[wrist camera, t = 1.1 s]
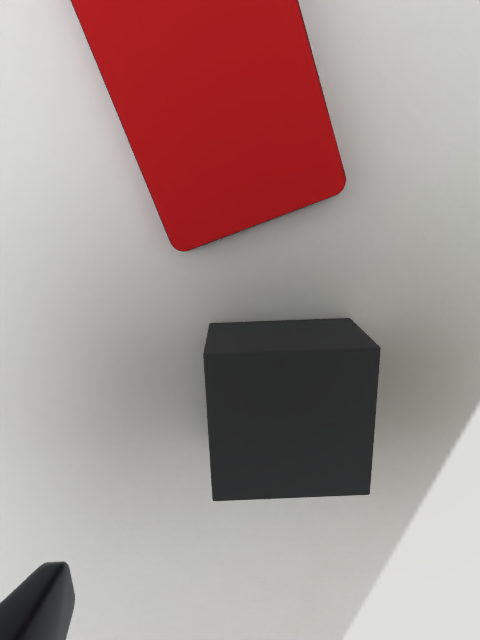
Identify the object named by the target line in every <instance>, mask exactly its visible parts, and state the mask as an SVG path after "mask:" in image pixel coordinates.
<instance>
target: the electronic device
mask: <svg viewBox="0 0 480 640" xmlns="http://www.w3.org/2000/svg"><path fill="white" fill-rule="evenodd" d="M71 2H72V5H73V7H74V9H75V12H76V14H77V17H78V19H79V22H80V24H81V26H82V29H83V31H84V34H85V36H86V39H87V41H88V43H89V46H90V48H91V51H92V53H93V56H94V58H95V60H96V63H97V65H98V68H99V70H100V73H101V75H102V77H103V80H104V82H105V85H106V87H107V90H108V92H109V94H110V97H111V99H112V102H113V104H114V107H115V109H116V111H117V114H118V116H119V119H120V121H121V124H122V126H123V128H124V131H125V133H126V136H127V138H128V141H129V143H130V145H131V148H132V150H133V153H134V155H135V158H136V160H137V162H138V165H139V167H140V170H141V172H142V175H143V177H144V179H145V182H146V184H147V187H148V189H149V192H150V194H151V196H152V199H153V201H154V204H155V206H156V209H157V211H158V213H159V216H160V218H161V221H162V223H163V226H164V228H165V230H166V233H167V235H168V238H169V240H170V243H171V244H172V246H173V247H174V248H175V249H177V250H179V251H189V250H192V249H194V248H197V247H200V246H202V245H205V244H208V243H210V242H213V241H215V240H218V239H221V238H223V237H226V236H229V235H231V234H234V233H237V232H239V231H242V230H245V229H247V228H250V227H253V226H255V225H258V224H261V223H263V222H266V221H269V220H271V219H274V218H277V217H279V216H282V215H285V214H287V213H290V212H292V211H295V210H298V209H300V208H303V207H306V206H308V205H311V204H314V203H316V202H319V201H322V200H324V199H327V198H330V197H332V196H335V195H337V194H339V193H340V192H341V191H342V190H343V188H344V186H345V183H346V176H345V172H344V169H343V165H342V161H341V158H340V154H339V150H338V147H337V143H336V139H335V135H334V132H333V128H332V124H331V121H330V117H329V113H328V110H327V106H326V102H325V99H324V95H323V91H322V88H321V84H320V80H319V76H318V73H317V69H316V65H315V62H314V58H313V54H312V51H311V47H310V43H309V40H308V36H307V32H306V29H305V25H304V21H303V17H302V14H301V10H300V6H299V3H298V0H71Z"/></svg>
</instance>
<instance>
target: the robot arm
mask: <svg viewBox="0 0 480 640" xmlns="http://www.w3.org/2000/svg"><path fill="white" fill-rule="evenodd" d="M74 603H75V594H74V589H73V584H72V579H71V574H70V569H69V566H68V564H67V563H66V562H47V563H44V564H42V565H41V566H40V567H38V568H37V569H36V570H35V571H34V572H33V573H32V574H31V575H30V576H29V577H28V578H27V579H26V580H25V581H24V582H22V583H21V584H20V585H19V586H18V587H17V588H16V589H15V590H14V591H13V592H12V593H11V594H10V595H9V596H8V597H6V598H5V599H4V600H3V601H2V602H1V603H0V640H66V636H67V632H68V629H69V625H70V621H71V617H72V613H73V609H74Z"/></svg>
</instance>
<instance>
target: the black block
mask: <svg viewBox="0 0 480 640" xmlns="http://www.w3.org/2000/svg"><path fill="white" fill-rule="evenodd" d="M203 356H204V372H205V388H206V403H207V419H208V435H209V451H210V467H211V482H212V498H213V501H227V500H251V499H275V498H299V497H323V496H348V495H369V494H370V484H371V470H372V456H373V443H374V429H375V415H376V402H377V388H378V374H379V361H380V347H379V346H378V345H377V344H376V343H375V342H374V341H373V340H372V339H371V338H370V337H369V336H368V335H367V334H366V333H365V332H364V331H363V330H362V329H361V328H359V327H358V326H357V325H356V324H355V323H354V322H353V321H352V320H351V319H350V318H341V319H314V320H287V321H260V322H233V323H210V324H209V329H208V334H207V339H206V344H205V349H204V354H203Z"/></svg>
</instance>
